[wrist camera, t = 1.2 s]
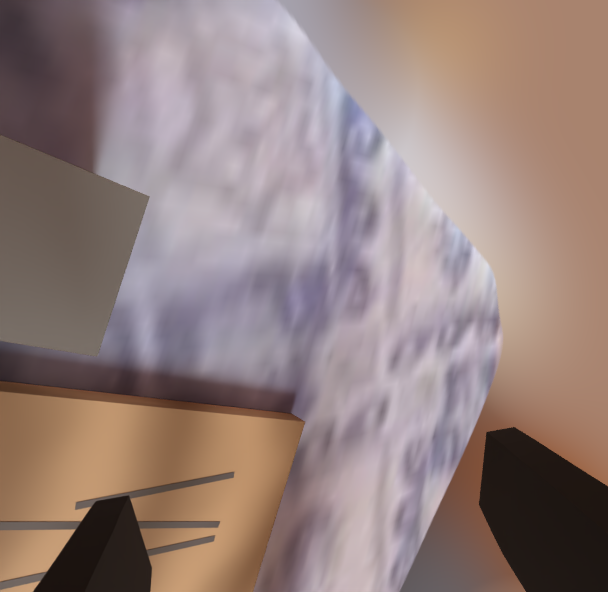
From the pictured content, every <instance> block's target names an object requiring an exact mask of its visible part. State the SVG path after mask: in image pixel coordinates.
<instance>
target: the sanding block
mask: <svg viewBox="0 0 608 592" xmlns="http://www.w3.org/2000/svg"><path fill="white" fill-rule="evenodd" d="M148 200H149V196H147V195H144V194H142V193H140V192H137V191H135V190H132V189H130V188H128V187H125V186H123V185H120V184H118V183H116V182H113V181H111V180H108V179H106V178H104V177H101V176H99V175H96V174H94V173H91V172H89V171H87V170H84V169H82V168H79V167H77V166H75V165H72V164H70V163H67V162H65V161H63V160H60V159H58V158H55V157H53V156H51V155H48V154H46V153H43V152H41V151H38V150H36V149H34V148H31V147H29V146H26V145H24V144H22V143H19V142H17V141H14V140H12V139H10V138H7V137H5V136H2V135H0V341H4V342H10V343H16V344H23V345H29V346H35V347H41V348H47V349H54V350H60V351H66V352H72V353H78V354H84V355H91V356H98V353H99V350H100V347H101V343H102V340H103V337H104V334H105V331H106V328H107V325H108V322H109V319H110V316H111V313H112V310H113V307H114V304H115V301H116V298H117V295H118V292H119V289H120V285H121V282H122V279H123V276H124V273H125V270H126V267H127V264H128V261H129V258H130V255H131V252H132V249H133V246H134V243H135V240H136V237H137V234H138V231H139V228H140V224H141V221H142V218H143V215H144V212H145V209H146V206H147V203H148Z"/></svg>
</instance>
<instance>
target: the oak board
mask: <svg viewBox="0 0 608 592" xmlns="http://www.w3.org/2000/svg"><path fill="white" fill-rule="evenodd" d="M304 424H305V421H303V420H301V419H300V418H298V417H296V416H295V415H293V414H290V413H281V412H272V411H264V410H255V409H246V408H237V407H228V406H219V405H210V404H201V403H192V402H184V401H175V400H166V399H157V398H148V397H139V396H130V395H121V394H112V393H104V392H95V391H86V390H77V389H68V388H59V387H50V386H41V385H32V384H24V383H15V382H6V381H0V592H33V591H34V589H35V588H36V586H37V585H38V584H39V582H40V581H41V579H42V578H43V577H44V575H45V574H46V572H47V571H48V569H49V568H50V567H51V565H52V564H53V562H54V561H55V559H56V558H57V556H58V555H59V553H60V552H61V551H62V549H63V548H64V546H65V545H66V543H67V542H68V540H69V539H70V537H71V536H72V534H73V533H74V531H75V530H76V528H77V527H78V526H79V524H80V523H81V521H82V520H83V518H84V517H85V515H86V514H87V512H88V511H89V509H90V508H91V507H92V505H93V504H94V503H95V502H96V501H99V500H105V499H110V498H116V497H122V496H127V495H129V496H130V499H131V502H132V506H133V509H134V512H135V515H136V518H137V522H138V525H139V528H140V531H141V534H142V537H143V541H144V544H145V547H146V550H147V553H148V556H149V560H150V563H151V566H152V577H151V591H150V592H253V589H254V586H255V583H256V580H257V576H258V573H259V570H260V567H261V563H262V560H263V557H264V554H265V550H266V547H267V544H268V541H269V538H270V534H271V531H272V528H273V525H274V521H275V518H276V515H277V512H278V508H279V505H280V502H281V499H282V495H283V492H284V489H285V486H286V482H287V479H288V476H289V473H290V469H291V466H292V463H293V460H294V456H295V453H296V450H297V447H298V443H299V440H300V437H301V434H302V431H303V427H304Z"/></svg>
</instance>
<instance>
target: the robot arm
mask: <svg viewBox="0 0 608 592" xmlns="http://www.w3.org/2000/svg"><path fill="white" fill-rule="evenodd" d="M479 505H480V508H481V510H482V512H483V514H484V516H485V518H486V521H487V522H488V525H489V527H490V529H491V531H492V533H493V535H494V537H495V539H496V541H497V543H498V545H499V547H500V549H501V551H502V553H503V555H504V557H505V558H506V560H507V561H508V563H509V565H510V567H511V568H512V570H513V571H514V573H515V575H516V576H517V578H518V579H519V581H520V583H521V584H522V586H523V587H524V589H525V591H526V592H608V486H606V485H605V484H603V483H602V482H600V481H598V480H597V479H595V478H594V477H592V476H590V475H589V474H587V473H586V472H584V471H582V470H581V469H579V468H578V467H576V466H574V465H573V464H572V463H570V462H568V461H567V460H565V459H564V458H562V457H561V456H559V455H557V454H556V453H554V452H553V451H551V450H550V449H548V448H547V447H545V446H544V445H542V444H540V443H539V442H537V441H536V440H534V439H533V438H531V437H529V436H528V435H526V434H525V433H523V432H521V431H519V430H518V429H516V428H515V427H513V428H507V429H502V430H496V431H490V432H487V433H486V443H485V452H484V462H483V471H482V481H481V491H480V501H479ZM151 577H152V566H151V563H150V560H149V556H148V553H147V550H146V547H145V544H144V541H143V537H142V534H141V531H140V528H139V525H138V522H137V518H136V515H135V512H134V509H133V506H132V502H131V499H130V496H129V495H127V496H122V497H116V498H110V499H105V500H99V501H96V502H95V503H94V504H93V505H92V507H91V508H90V509H89V511H88V512H87V514H86V515H85V517H84V518H83V520H82V521H81V523H80V524H79V526H78V527H77V528H76V530H75V531H74V533H73V534H72V536H71V537H70V539H69V540H68V542H67V543H66V545H65V546H64V548H63V549H62V551H61V552H60V553H59V555H58V556H57V558H56V559H55V561H54V562H53V564H52V565H51V567H50V568H49V569H48V571H47V572H46V574H45V575H44V577H43V578H42V579H41V581H40V582H39V584H38V585H37V586H36V588H35V589H34V591H33V592H150V591H151Z"/></svg>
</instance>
